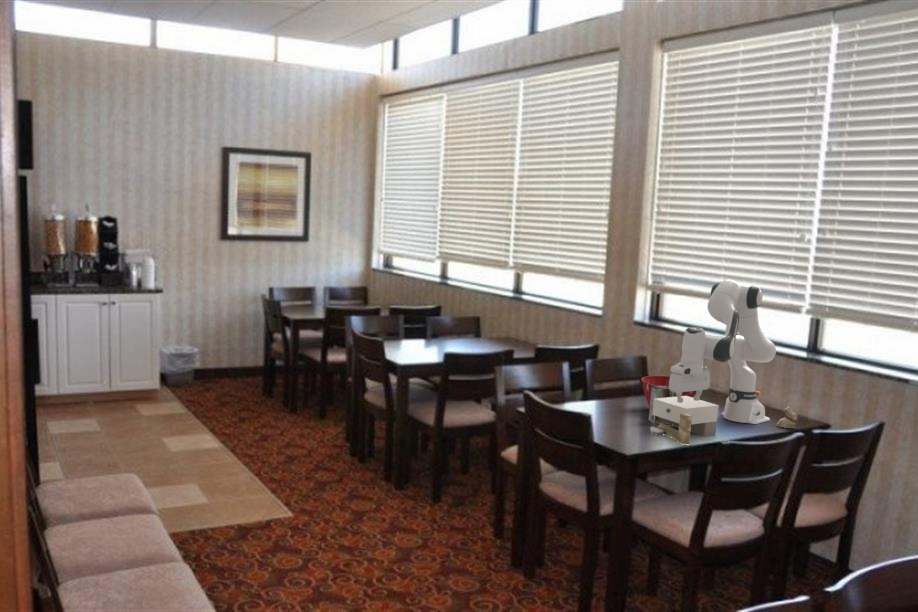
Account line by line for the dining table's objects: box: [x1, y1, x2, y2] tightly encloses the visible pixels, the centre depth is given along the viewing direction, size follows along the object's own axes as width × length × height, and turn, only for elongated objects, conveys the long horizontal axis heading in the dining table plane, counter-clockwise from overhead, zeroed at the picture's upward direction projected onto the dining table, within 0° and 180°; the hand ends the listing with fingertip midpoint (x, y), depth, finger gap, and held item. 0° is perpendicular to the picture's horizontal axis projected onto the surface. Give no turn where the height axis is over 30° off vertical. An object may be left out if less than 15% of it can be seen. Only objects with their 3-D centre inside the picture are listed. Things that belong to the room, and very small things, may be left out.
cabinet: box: [652, 396, 720, 437], centre depth 350 cm, size 21×18×13 cm
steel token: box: [649, 425, 666, 436], centre depth 345 cm, size 6×6×2 cm
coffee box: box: [648, 386, 676, 425], centre depth 363 cm, size 9×6×16 cm
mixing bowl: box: [640, 375, 696, 407], centre depth 382 cm, size 28×28×15 cm
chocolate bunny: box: [775, 406, 798, 429], centre depth 370 cm, size 6×8×10 cm
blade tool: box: [658, 413, 692, 445], centre depth 339 cm, size 3×22×12 cm, turn 14°
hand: (688, 401), depth 329 cm, fingers open, 8 cm apart
